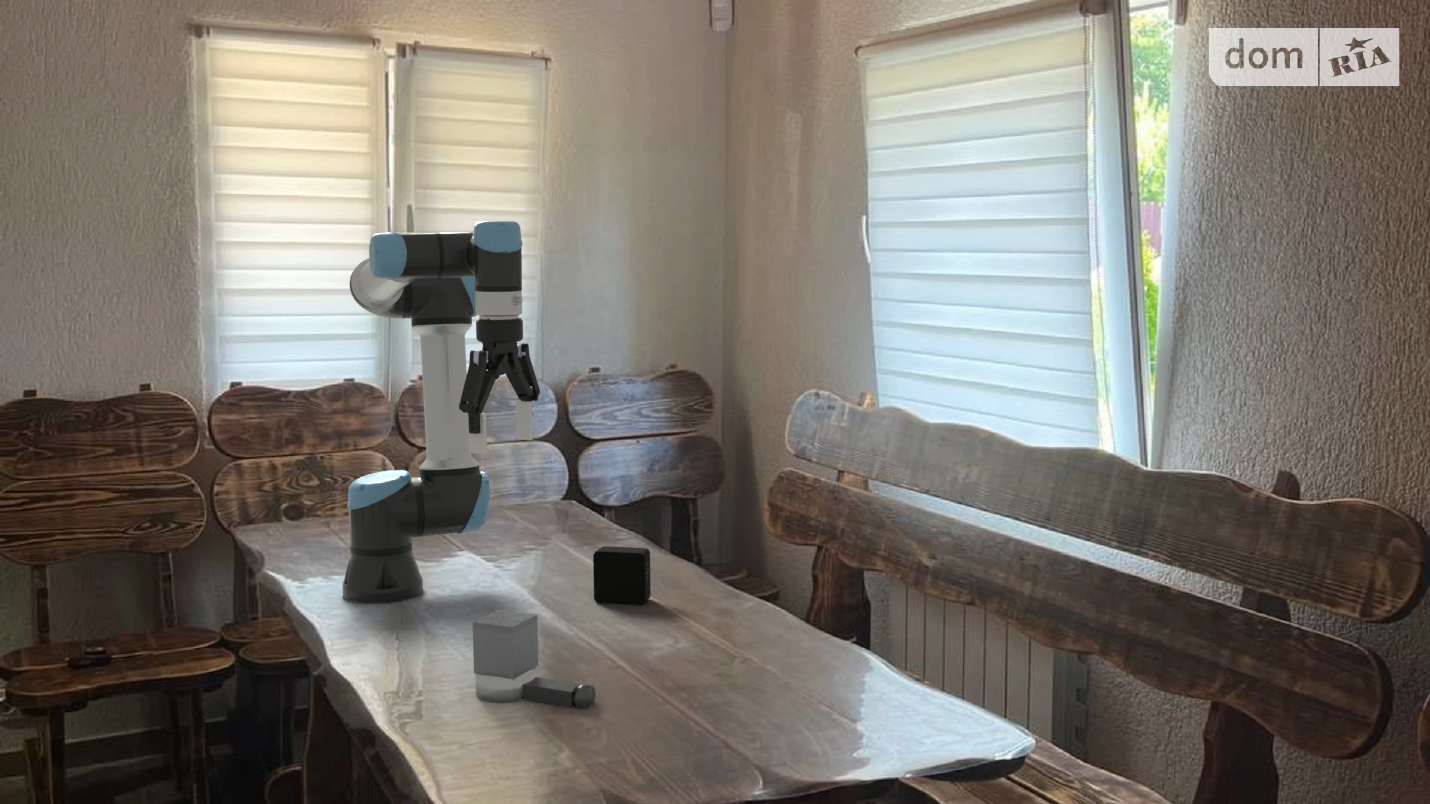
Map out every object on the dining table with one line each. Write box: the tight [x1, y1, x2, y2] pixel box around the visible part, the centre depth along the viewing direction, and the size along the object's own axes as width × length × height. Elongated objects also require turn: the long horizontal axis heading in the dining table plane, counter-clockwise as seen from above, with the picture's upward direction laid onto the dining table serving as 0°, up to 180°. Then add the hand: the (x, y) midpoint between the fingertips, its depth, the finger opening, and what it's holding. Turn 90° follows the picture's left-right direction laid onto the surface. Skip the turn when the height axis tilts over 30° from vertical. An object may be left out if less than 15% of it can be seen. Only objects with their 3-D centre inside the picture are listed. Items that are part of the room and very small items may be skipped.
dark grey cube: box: [472, 609, 539, 679], centre depth 198 cm, size 7×7×8 cm
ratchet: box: [474, 667, 596, 710], centre depth 196 cm, size 19×9×10 cm, turn 66°
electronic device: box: [592, 545, 652, 606], centre depth 247 cm, size 4×10×10 cm, turn 78°
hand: (502, 446), depth 214 cm, fingers open, 13 cm apart
